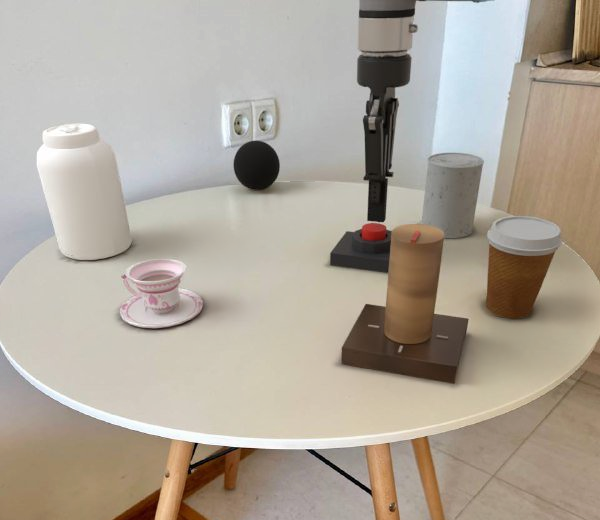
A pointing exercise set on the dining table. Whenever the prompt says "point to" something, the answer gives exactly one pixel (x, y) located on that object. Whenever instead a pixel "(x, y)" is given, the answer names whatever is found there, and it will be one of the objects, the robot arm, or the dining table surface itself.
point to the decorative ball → (256, 165)
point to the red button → (374, 231)
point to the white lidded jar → (83, 192)
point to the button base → (362, 252)
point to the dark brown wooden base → (406, 347)
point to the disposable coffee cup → (518, 263)
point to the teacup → (158, 295)
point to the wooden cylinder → (412, 282)
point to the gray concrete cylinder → (452, 193)
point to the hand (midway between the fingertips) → (376, 219)
